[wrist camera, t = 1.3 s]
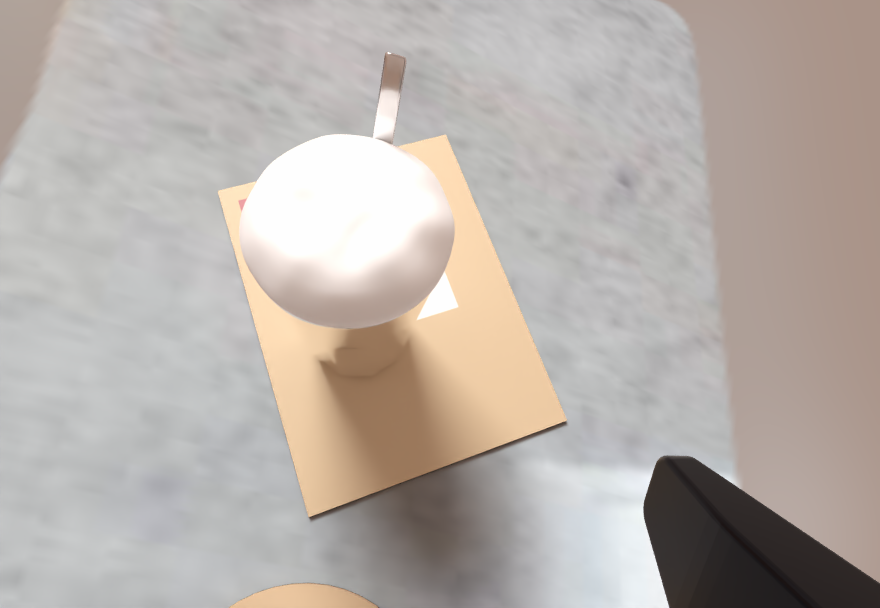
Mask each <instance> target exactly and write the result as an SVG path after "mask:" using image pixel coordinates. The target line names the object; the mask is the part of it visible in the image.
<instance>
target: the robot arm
mask: <svg viewBox="0 0 880 608" xmlns="http://www.w3.org/2000/svg"><path fill="white" fill-rule="evenodd" d="M643 509H644V519H645V523H646V527H647V530H648V534H649V537H650V541H651V544H652V548H653V551H654V555H655V559H656V562H657V566H658V569H659V573H660V576H661V580H662V583H663V587H664V590H665V594H666V597H667V601H668V604H669V608H880V583H879V582H877V581H876V580H874V579H873V578H871V577H870V576H868V575H866V574H865V573H864V572H862V571H861V570H859V569H858V568H856V567H855V566H853V565H852V564H850V563H849V562H847V561H846V560H844V559H843V558H842V557H840V556H839V555H837V554H836V553H834V552H833V551H831V550H830V549H828V548H827V547H825V546H823V545H822V544H821V543H819V542H818V541H816V540H815V539H813V538H812V537H810V536H809V535H807V534H806V533H805V532H803V531H802V530H800V529H799V528H797V527H796V526H794V525H793V524H791V523H790V522H788V521H787V520H785V519H784V518H782V517H781V516H779V515H778V514H776V513H775V512H773V511H772V510H770V509H769V508H767V507H766V506H764V505H763V504H762V503H760V502H758V501H757V500H755V499H754V498H753V497H751V496H750V495H748V494H747V493H745V492H744V491H742V490H741V489H739V488H738V487H736V486H735V485H733V484H732V483H731V482H729V481H728V480H726V479H725V478H723V477H722V476H720V475H719V474H717V473H716V472H714V471H713V470H711V469H710V468H708V467H707V466H705V465H704V464H702V463H701V462H699V461H698V460H696V459H695V458H693V457H689V456H663V457H661V458H659V460H658V461H657V463H656V465H655V468H654V471H653V474H652V478H651V481H650V484H649V487H648V490H647V494H646V497H645V500H644V507H643Z"/></svg>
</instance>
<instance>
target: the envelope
mask: <svg viewBox="0 0 880 608" xmlns="http://www.w3.org/2000/svg"><path fill="white" fill-rule="evenodd" d="M398 147H399V148H401V149H403V150H405V151H407V152H409V153H410V154H412V155H414V156H415V157H417V158H418V159H419V160H421V161H422V162H423V163H424V164H425V165H427V166H428V167H429V169H430V170H431V171H432V172H433V173H434V175H435V176H436V178H437V179H438V181H439V183H440V185H441V187H442V189H443V191H444V193H445V196H446V198H447V201H448V203H449V206H450V208H451V211H452V214H453V218H454V225H455V235H454V242H453V247H452V251H451V255H450V258H449V261H448V264H447V266H446V269H445V271H444V273H443V275H442V277H441V279H440V281H439V282H438V284H437V285H436V287H435V288H434V290H433V292H432V294H431V295H430V297H429V299H428V300H427V302H426V304H425V306H424V307H423V309H422V311H421V313H420V314H419V316H418V318H417V320H416V322H415V324H414V326H413V328H412V330H411V332H410V335H409V337H408V339H407V341H406V343H405V346H404V348H403V350H402V352H401V354H400V357H399V359H398V360H397V361H395V362H394V363H393V364H391V365H390V366H388V367H387V368H385V369H384V370H382V371H381V372H380V373H378V374H377V375H375V376H374V377H342V376H340V375H339V374H338V373H336V372H335V371H334V370H332V369H331V368H329V367H328V366H327V365H325V364H324V363H323V362H321V361H320V360H318V359H317V357H316V356H315V355H314V353H313V352H312V351H311V349H310V348H309V347H308V345H307V344H306V343H305V341H304V340H303V338H302V337H301V336H300V334H299V333H298V332H297V330H296V329H295V328H294V326H293V325H292V323H291V322H290V321H289V319H288V318H287V317H286V316H285V315H284V314H283V313H282V311H281V310H280V309H279V308H278V307H277V306H276V305H275V304H274V302H273V301H272V300H271V299H270V298H269V297H268V296H267V294H266V293H265V292H264V291H263V290H262V288H261V287H260V286H259V284H258V283H257V281H256V280H255V278H254V277H253V275H252V273H251V272H250V270H249V268H248V266H247V264H246V262H245V260H244V257H243V254H242V251H241V246H240V238H239V226H240V218H241V213H242V210H243V207H244V204H245V202H246V200H247V198H248V196H249V194H250V192H251V190H252V189H253V187H254V185H255V184H256V182H257V181H256V182H252V183H248V184H244V185H240V186H236V187H232V188H228V189H224V190H220V191H218V194H219V197H220V201H221V204H222V208H223V212H224V215H225V219H226V222H227V226H228V230H229V233H230V237H231V240H232V244H233V247H234V251H235V255H236V258H237V262H238V265H239V269H240V273H241V276H242V280H243V283H244V287H245V291H246V294H247V298H248V301H249V305H250V308H251V312H252V316H253V319H254V323H255V326H256V330H257V334H258V337H259V341H260V344H261V348H262V352H263V355H264V359H265V362H266V366H267V369H268V373H269V377H270V380H271V384H272V387H273V391H274V395H275V398H276V402H277V405H278V409H279V413H280V416H281V420H282V423H283V427H284V430H285V434H286V438H287V441H288V445H289V448H290V452H291V456H292V459H293V463H294V466H295V470H296V474H297V477H298V481H299V484H300V488H301V491H302V495H303V499H304V502H305V506H306V509H307V513H308V517H311V516H314V515H316V514H319V513H322V512H324V511H327V510H330V509H332V508H335V507H338V506H340V505H343V504H346V503H348V502H351V501H354V500H356V499H359V498H362V497H364V496H367V495H370V494H372V493H375V492H378V491H380V490H383V489H386V488H388V487H391V486H394V485H396V484H399V483H402V482H404V481H407V480H410V479H412V478H415V477H418V476H420V475H423V474H426V473H428V472H431V471H434V470H436V469H439V468H442V467H444V466H447V465H450V464H452V463H455V462H458V461H460V460H463V459H466V458H468V457H471V456H474V455H476V454H479V453H482V452H484V451H487V450H490V449H492V448H495V447H498V446H500V445H503V444H506V443H508V442H511V441H514V440H516V439H519V438H522V437H524V436H527V435H530V434H532V433H535V432H538V431H540V430H543V429H546V428H548V427H551V426H554V425H556V424H559V423H562V422H564V421H567V419H566V417H565V414H564V412H563V410H562V407H561V405H560V403H559V400H558V398H557V396H556V393H555V391H554V389H553V386H552V384H551V381H550V379H549V377H548V374H547V372H546V370H545V367H544V365H543V363H542V360H541V358H540V356H539V353H538V351H537V348H536V346H535V344H534V341H533V339H532V337H531V334H530V332H529V330H528V327H527V325H526V323H525V320H524V318H523V315H522V313H521V311H520V308H519V306H518V304H517V301H516V299H515V297H514V294H513V292H512V290H511V287H510V285H509V282H508V280H507V278H506V275H505V273H504V271H503V268H502V266H501V264H500V261H499V259H498V257H497V254H496V252H495V249H494V247H493V245H492V242H491V240H490V238H489V235H488V233H487V231H486V228H485V226H484V224H483V221H482V219H481V216H480V214H479V212H478V209H477V207H476V205H475V202H474V200H473V198H472V195H471V193H470V191H469V188H468V186H467V183H466V181H465V179H464V176H463V174H462V172H461V169H460V167H459V165H458V162H457V160H456V158H455V155H454V153H453V150H452V148H451V146H450V143H449V141H448V139H447V136H446V135H442V136H438V137H434V138H430V139H426V140H422V141H418V142H414V143H410V144H406V145H402V146H398Z"/></svg>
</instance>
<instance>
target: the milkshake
mask: <svg viewBox="0 0 880 608" xmlns="http://www.w3.org/2000/svg"><path fill="white" fill-rule="evenodd" d="M405 68H406V58H405V57H402V56H399V55H396V54H393V53H390V52H386V53H385V57H384V63H383V70H382V77H381V84H380V91H379V97H378V104H377V111H376V118H375V125H374V132H373V138H370V137H364V136H356V135H342V134H338V135H327V136H322V137H319V138H316V139H313V140H310V141H308V142H306V143H303V144H301V145H299V146H297V147H295V148H293V149H291V150H289V151H288V152H286V153H284V154H283V155H281V156H280V157H278V158H277V159H276V160H275V161H273V162H272V163H271V164H270V165H269V166H268V167H267V168H266V169H265V171H264V172H263V173H262V175H261V176H260V178H259V179H258V181H257V182H256V184H255V185H254V187H253V189H252V190H251V192H250V194H249V196H248V198H247V200H246V202H245V204H244V207H243V210H242V213H241V218H240V226H239V238H240V246H241V251H242V254H243V257H244V260H245V262H246V264H247V266H248V268H249V270H250V272H251V273H252V275H253V277H254V278H255V280H256V281H257V283H258V284H259V286H260V287H261V288H262V290H263V291H264V292H265V293H266V294H267V296H268V297H269V298H270V299H271V300H272V301H273V302H274V304H275V305H276V306H277V307H278V308H279V309H280V310H281V311H282V313H283V314H284V315H285V316H286V317H287V318H288V319H289V321H290V322H291V323H292V325H293V326H294V328H295V329H296V330H297V332H298V333H299V334H300V336H301V337H302V338H303V340H304V341H305V343H306V344H307V345H308V347H309V348H310V349H311V351H312V352H313V353H314V355H315V356H316V357H317V359H318V360H320V361H321V362H323V363H324V364H325V365H327V366H328V367H329V368H331V369H332V370H334V371H335V372H336V373H338V374H339V375H340V376H342V377H374V376H375V375H377V374H378V373H380V372H381V371H382V370H384V369H385V368H387V367H388V366H390V365H391V364H393V363H394V362H395V361H397V360H398V359H399V357H400V354H401V352H402V350H403V348H404V346H405V343H406V341H407V339H408V337H409V335H410V332H411V330H412V328H413V326H414V324H415V322H416V320H417V318H418V316H419V314H420V313H421V311H422V309H423V307H424V306H425V304H426V302H427V300H428V299H429V297H430V295H431V294H432V292H433V290H434V288H435V287H436V285H437V284H438V282H439V281H440V279H441V277H442V275H443V273H444V271H445V269H446V266H447V264H448V261H449V258H450V255H451V251H452V247H453V242H454V235H455V225H454V218H453V214H452V211H451V208H450V206H449V203H448V201H447V198H446V196H445V193H444V191H443V189H442V187H441V185H440V183H439V181H438V179H437V178H436V176H435V175H434V173H433V172H432V171H431V170H430V169H429V167H428V166H427V165H425V164H424V163H423V162H422V161H421V160H419V159H418V158H417V157H415V156H414V155H412V154H410V153H409V152H407V151H405V150H403V149H401V148H399V147H397V146H395V145H392V144H393V138H394V132H395V126H396V120H397V115H398V109H399V103H400V97H401V91H402V85H403V80H404V74H405Z"/></svg>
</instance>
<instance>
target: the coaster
mask: <svg viewBox="0 0 880 608" xmlns="http://www.w3.org/2000/svg"><path fill="white" fill-rule="evenodd" d="M229 608H379V607H378V606H377V605H375V604H374V603H372V602H370V601H369V600H367V599H365V598H364V597H362V596H360V595H358V594H355V593H353V592H350V591H348V590H346V589H342V588H338V587H335V586H331V585H325V584H315V583H297V584H288V585H282V586H277V587H273V588H270V589H267V590H263V591H260V592H257V593H255V594H253V595H251V596H249V597H247V598H244V599H242V600H240V601H238V602H237V603H235V604H234V605H232V606H230V607H229Z"/></svg>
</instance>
